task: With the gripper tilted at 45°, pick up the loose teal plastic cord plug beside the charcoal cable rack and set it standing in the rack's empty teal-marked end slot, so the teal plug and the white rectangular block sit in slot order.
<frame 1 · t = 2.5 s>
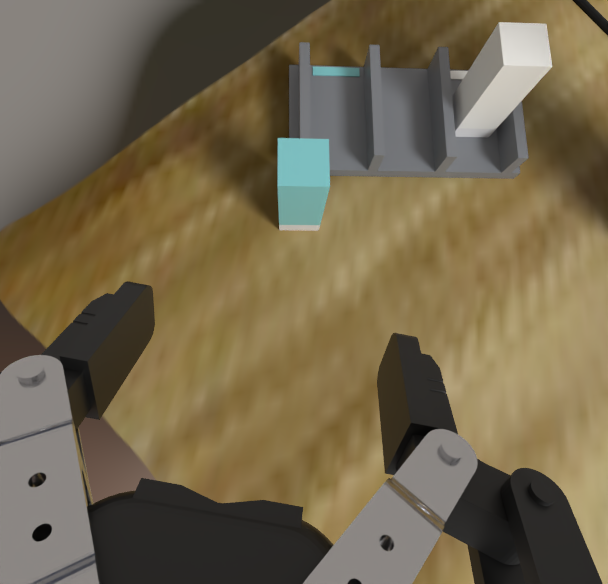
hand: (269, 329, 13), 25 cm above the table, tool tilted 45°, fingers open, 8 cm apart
teal plug: (298, 211, 40), on the table
cable rack: (400, 125, 42), on the table
white rectangular block: (468, 119, 41), point 1 cm above the table, touching cable rack
pen: (580, 11, 47), on the table
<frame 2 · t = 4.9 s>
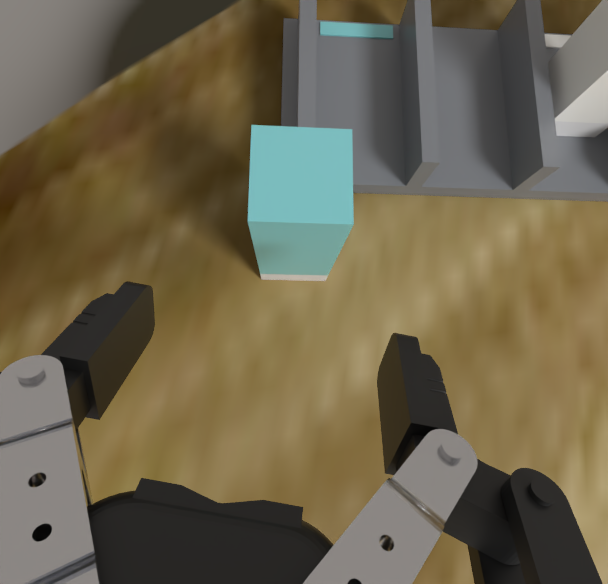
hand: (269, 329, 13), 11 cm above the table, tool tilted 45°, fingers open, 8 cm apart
teal plug: (294, 249, 25), on the table
cable rack: (453, 115, 27), on the table
white rectangular block: (562, 109, 26), point 1 cm above the table, touching cable rack
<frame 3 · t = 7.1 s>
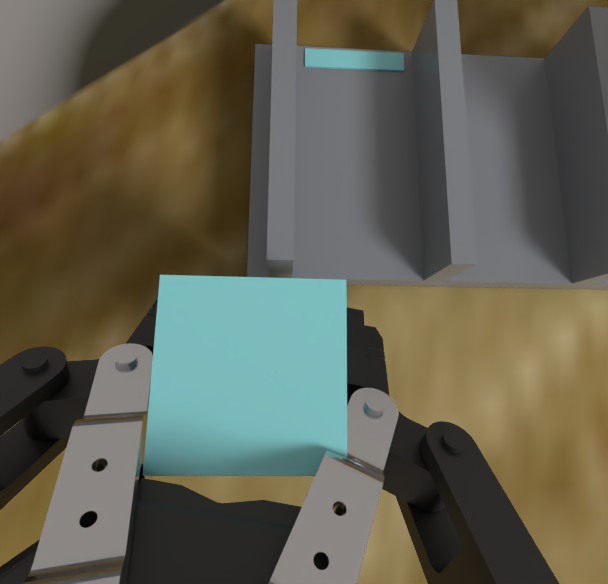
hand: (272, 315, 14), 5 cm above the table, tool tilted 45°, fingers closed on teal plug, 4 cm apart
teal plug: (268, 368, 18), on the table, touching gripper
cable rack: (485, 174, 20), on the table
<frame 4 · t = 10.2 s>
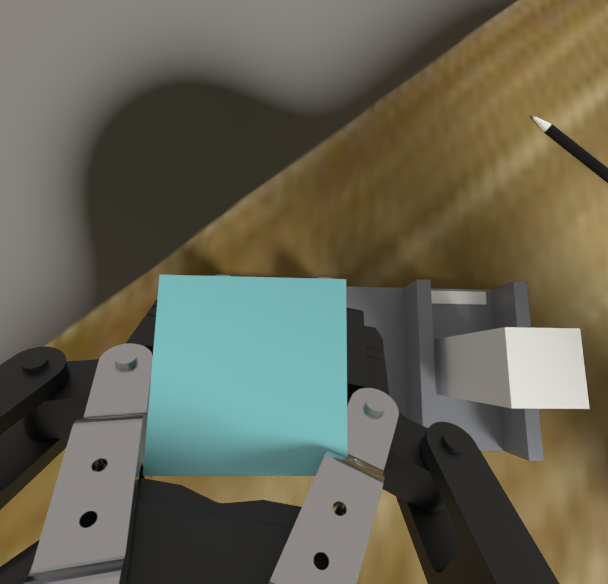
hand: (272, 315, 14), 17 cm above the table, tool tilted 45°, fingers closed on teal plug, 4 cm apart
teal plug: (268, 368, 18), point 12 cm above the table, touching gripper
cable rack: (363, 365, 30), on the table
white rectangular block: (458, 366, 30), point 1 cm above the table, touching cable rack
when the fingers open (7 cm above the table, at t = 12.9 s): teal plug drops 1 cm, resting on cable rack.
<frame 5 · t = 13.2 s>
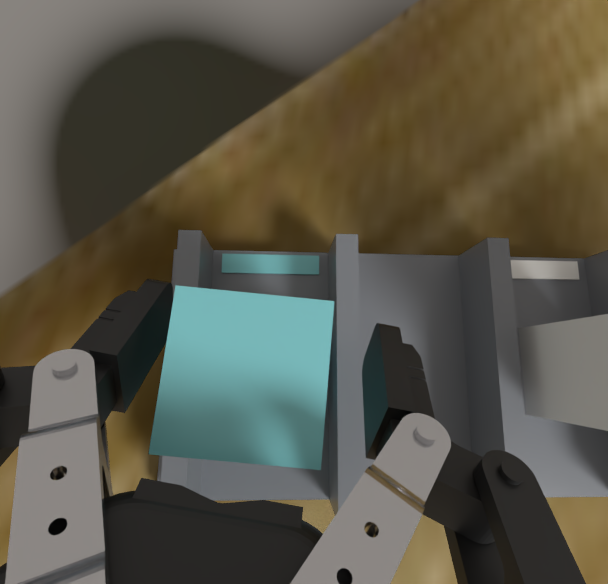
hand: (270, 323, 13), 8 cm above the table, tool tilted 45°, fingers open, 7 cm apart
teal plug: (268, 370, 19), point 1 cm above the table, touching cable rack
cable rack: (400, 369, 21), on the table
white rectangular block: (542, 370, 20), point 1 cm above the table, touching cable rack
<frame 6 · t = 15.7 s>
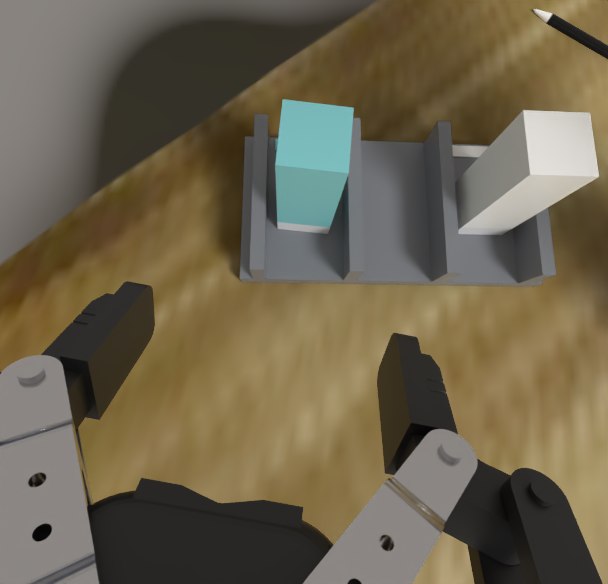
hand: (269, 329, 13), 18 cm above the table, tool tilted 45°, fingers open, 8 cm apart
teal plug: (305, 207, 31), point 1 cm above the table, touching cable rack
cable rack: (387, 214, 33), on the table
white rectangular block: (475, 211, 32), point 1 cm above the table, touching cable rack
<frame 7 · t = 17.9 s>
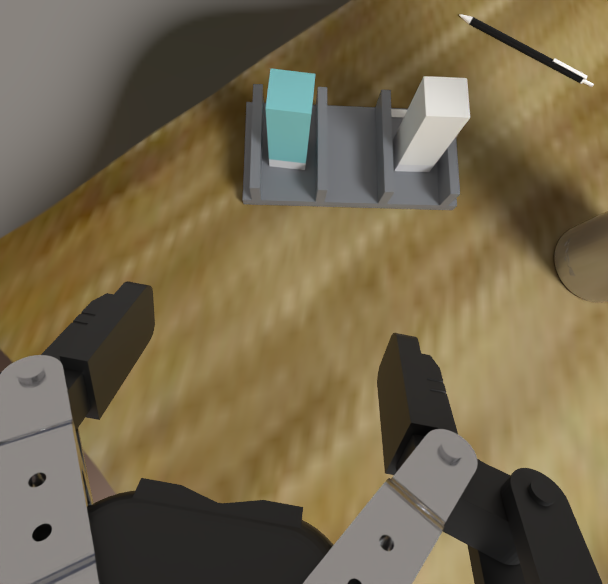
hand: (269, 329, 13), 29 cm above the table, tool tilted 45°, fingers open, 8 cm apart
teal plug: (289, 152, 44), point 1 cm above the table, touching cable rack
cable rack: (348, 158, 46), on the table
white rectangular block: (411, 155, 45), point 1 cm above the table, touching cable rack
pen: (522, 53, 50), on the table
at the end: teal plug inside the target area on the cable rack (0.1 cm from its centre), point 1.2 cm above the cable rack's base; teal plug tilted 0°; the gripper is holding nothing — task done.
